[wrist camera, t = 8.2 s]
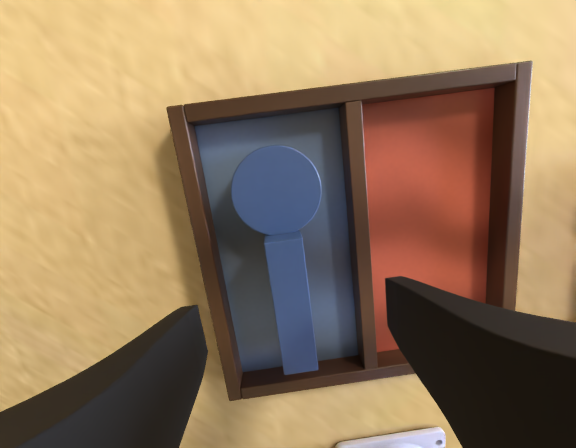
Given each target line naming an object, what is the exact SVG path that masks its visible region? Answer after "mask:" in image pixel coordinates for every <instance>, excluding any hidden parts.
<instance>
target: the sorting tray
mask: <svg viewBox="0 0 576 448" xmlns="http://www.w3.org/2000/svg"><path fill="white" fill-rule="evenodd" d="M532 63H533V62H532V61H525V62H517V63H509V64H501V65H493V66H485V67H477V68H469V69H461V70H453V71H445V72H437V73H429V74H421V75H414V76H406V77H398V78H390V79H382V80H374V81H366V82H358V83H350V84H342V85H334V86H326V87H318V88H310V89H303V90H295V91H287V92H279V93H271V94H263V95H255V96H247V97H239V98H231V99H223V100H215V101H207V102H199V103H191V104H185V105H184V106H183V105H177V106H169V107H167V113H168V118H169V123H170V127H171V132H172V137H173V141H174V146H175V151H176V155H177V160H178V164H179V169H180V174H181V178H182V183H183V188H184V192H185V197H186V202H187V206H188V211H189V216H190V220H191V225H192V230H193V234H194V239H195V243H196V248H197V253H198V257H199V262H200V267H201V271H202V276H203V281H204V285H205V290H206V295H207V299H208V304H209V308H210V313H211V318H212V322H213V327H214V332H215V336H216V341H217V346H218V350H219V355H220V360H221V364H222V369H223V374H224V378H225V383H226V387H227V392H228V397H229V400H230V401H234V400H240V399H242V398H243V399H248V398H255V397H261V396H268V395H275V394H281V393H288V392H295V391H301V390H308V389H315V388H321V387H328V386H334V385H341V384H348V383H354V382H361V381H368V380H374V379H381V378H388V377H394V376H401V375H407V374H414V373H415V371H414V370H413V369H412V367H411V366H410V364H409V363H408V361H407V360H406V358H405V357H404V355H403V354H402V352H401V351H400V349H399V348H398V346H397V344H396V342H395V340H394V338H393V336H392V334H391V332H390V330H389V328H388V326H387V310H386V291H385V278H390V277H397V276H403V277H407V278H411V279H414V280H417V281H420V282H422V283H425V284H428V285H431V286H433V287H436V288H439V289H442V290H445V291H448V292H450V293H453V294H456V295H459V296H462V297H466V298H469V299H472V300H475V301H479V302H482V303H485V304H489V305H493V306H496V307H501V308H505V309H509V310H513V311H515V305H516V291H517V276H518V262H519V248H520V234H521V220H522V205H523V191H524V177H525V163H526V148H527V134H528V120H529V106H530V92H531V77H532ZM269 145H283V146H288V147H291V148H293V149H296V150H298V151H299V152H301V153H302V154H304V155H305V156H306V157H307V158H308V159H309V160H310V161H311V162H312V163H313V165H314V166H315V168H316V170H317V172H318V174H319V177H320V181H321V190H322V193H321V200H320V204H319V207H318V209H317V211H316V213H315V215H314V216H313V218H312V219H311V220H310V221H309V222H308V223H307V224H306V225H305V226H304V227H302V228H301V229H299V230H300V233H301V236H302V238H303V246H304V254H305V263H306V271H307V279H308V287H309V296H310V304H311V312H312V321H313V329H314V337H315V345H316V354H317V362H318V370H316V371H309V372H302V373H295V374H289V375H284V371H283V364H282V358H281V351H280V345H279V339H278V332H277V326H276V319H275V313H274V306H273V300H272V294H271V287H270V281H269V274H268V268H267V261H266V255H265V249H264V238H265V234H262V233H259V232H257V231H255V230H253V229H252V228H250V227H249V226H247V225H246V224H245V223H244V222H243V221H242V220H241V218H240V217H239V216H238V214H237V212H236V211H235V208H234V206H233V203H232V199H231V182H232V178H233V174H234V172H235V170H236V168H237V166H238V165H239V163H240V162H241V161H242V160H243V159H244V158H245V157H246V156H247V155H248V154H250V153H251V152H252V151H254V150H256V149H258V148H261V147H264V146H269Z"/></svg>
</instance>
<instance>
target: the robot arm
mask: <svg viewBox="0 0 576 448" xmlns="http://www.w3.org/2000/svg"><path fill="white" fill-rule="evenodd" d="M385 291H386V310H387V326H388V328H389V330H390V332H391V334H392V336H393V338H394V340H395V342H396V344H397V346H398V348H399V349H400V351H401V352H402V354H403V355H404V357H405V358H406V360H407V361H408V363H409V364H410V366H411V367H412V369H413V370H414V371H415V373H416V374H417V376H418V377H419V379H420V380H421V382H422V383H423V384H424V386H425V387H426V389H427V390H428V392H429V393H430V395H431V396H432V397H433V399H434V400H435V402H436V403H437V405H438V406H439V408H440V409H441V411H442V413H443V414H444V416H445V417H446V419H447V421H448V422H449V424H450V426H451V428H452V429H453V431H454V433H455V435H456V437H457V438H458V440H459V442H460V444H461V445H462V447H463V448H576V322H570V321H564V320H558V319H553V318H547V317H541V316H536V315H531V314H526V313H521V312H517V311H513V310H509V309H505V308H501V307H496V306H493V305H489V304H485V303H482V302H479V301H475V300H472V299H469V298H466V297H462V296H459V295H456V294H453V293H450V292H448V291H445V290H442V289H439V288H436V287H433V286H431V285H428V284H425V283H422V282H420V281H417V280H414V279H411V278H407V277H403V276H397V277H390V278H385ZM207 354H208V350H207V345H206V341H205V336H204V332H203V327H202V323H201V318H200V314H199V309H198V305H192V306H185V307H181V308H179V309H177V310H175V311H174V312H172V313H171V314H169V315H168V316H166V317H165V318H163V319H162V320H160V321H159V322H158V323H156V324H155V325H153V326H152V327H151V328H149V329H148V330H146V331H145V332H144V333H142V334H141V335H139V336H138V337H136V338H135V339H133V340H132V341H130V342H129V343H127V344H126V345H124V346H123V347H121V348H120V349H118V350H117V351H115V352H114V353H112V354H111V355H109V356H108V357H106V358H104V359H103V360H101V361H100V362H98V363H96V364H95V365H93V366H91V367H89V368H88V369H86V370H84V371H82V372H81V373H79V374H77V375H75V376H73V377H72V378H70V379H68V380H66V381H64V382H62V383H60V384H58V385H56V386H54V387H52V388H50V389H48V390H46V391H44V392H42V393H40V394H38V395H36V396H34V397H32V398H30V399H28V400H26V401H24V402H22V403H19V404H17V405H15V406H13V407H11V408H8V409H6V410H4V411H2V412H0V448H179V446H180V443H181V440H182V437H183V434H184V431H185V428H186V425H187V422H188V420H189V417H190V414H191V411H192V408H193V405H194V402H195V399H196V396H197V394H198V391H199V388H200V385H201V382H202V378H203V374H204V370H205V365H206V360H207ZM335 448H445V433H444V431H443V430H442V429H441V428H440V427H433V428H426V429H420V430H413V431H407V432H400V433H394V434H388V435H381V436H375V437H368V438H362V439H355V440H349V441H342V442H339V443H338V444H337V445H336V447H335Z"/></svg>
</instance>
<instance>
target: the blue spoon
mask: <svg viewBox="0 0 576 448" xmlns="http://www.w3.org/2000/svg"><path fill="white" fill-rule="evenodd" d="M321 193H322V190H321V181H320V177H319V174H318V172H317V170H316V168H315V166H314V165H313V163H312V162H311V161H310V160H309V159H308V158H307V157H306V156H305V155H304V154H302V153H301V152H299V151H298V150H296V149H293V148H291V147H288V146H283V145H269V146H264V147H261V148H258V149H256V150H254V151H252V152H251V153H250V154H248V155H247V156H246V157H245V158H244V159H243V160H242V161H241V162H240V163H239V165H238V166H237V168H236V170H235V172H234V174H233V178H232V182H231V199H232V203H233V206H234V208H235V211H236V212H237V214H238V216H239V217H240V218H241V220H242V221H243V222H244V223H245V224H246V225H247V226H249V227H250V228H252V229H253V230H255V231H257V232H259V233H262V234H265V238H264V249H265V255H266V261H267V268H268V274H269V281H270V287H271V294H272V300H273V306H274V313H275V319H276V326H277V332H278V339H279V345H280V351H281V358H282V364H283V371H284V375H289V374H295V373H302V372H309V371H316V370H318V362H317V354H316V345H315V337H314V329H313V321H312V312H311V304H310V296H309V287H308V279H307V271H306V263H305V254H304V246H303V238H302V236H301V233H300V230H299V229H301V228H302V227H304V226H305V225H306V224H307V223H308V222H309V221H310V220H311V219H312V218H313V216H314V215H315V213H316V211H317V209H318V207H319V204H320V200H321Z"/></svg>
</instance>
